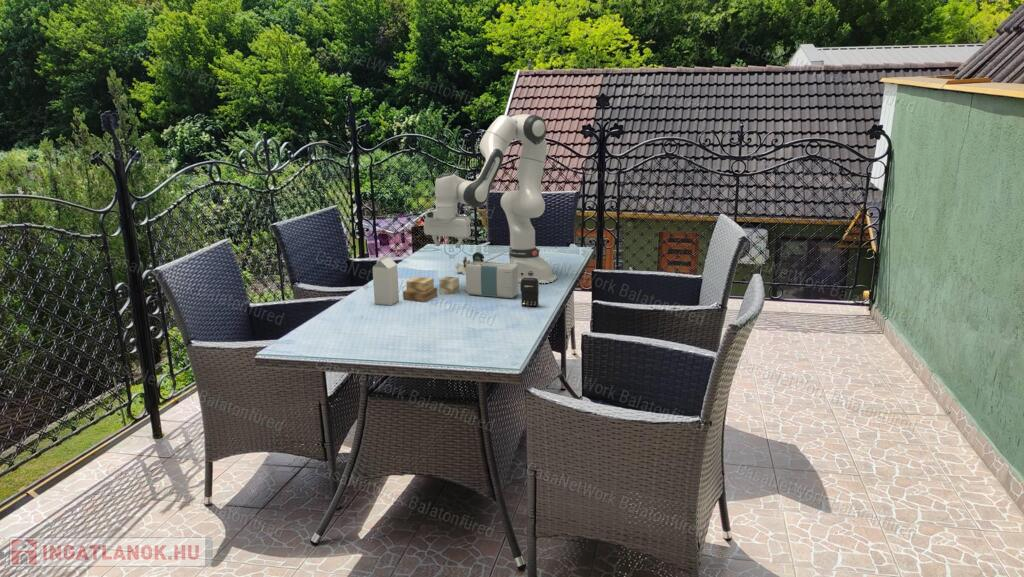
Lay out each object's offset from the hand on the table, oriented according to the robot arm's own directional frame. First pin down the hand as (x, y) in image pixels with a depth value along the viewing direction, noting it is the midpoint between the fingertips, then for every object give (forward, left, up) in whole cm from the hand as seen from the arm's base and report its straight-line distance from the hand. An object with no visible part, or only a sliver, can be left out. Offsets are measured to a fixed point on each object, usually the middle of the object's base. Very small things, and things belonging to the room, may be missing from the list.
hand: (447, 246), depth 284 cm
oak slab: (+7, +12, -16) cm, 21 cm away
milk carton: (+16, +23, -20) cm, 34 cm away
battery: (-39, +8, -20) cm, 44 cm away
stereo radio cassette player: (-19, -2, -20) cm, 28 cm away
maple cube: (0, 0, -20) cm, 20 cm away
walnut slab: (+7, +12, -20) cm, 24 cm away
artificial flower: (+9, -41, -20) cm, 47 cm away
